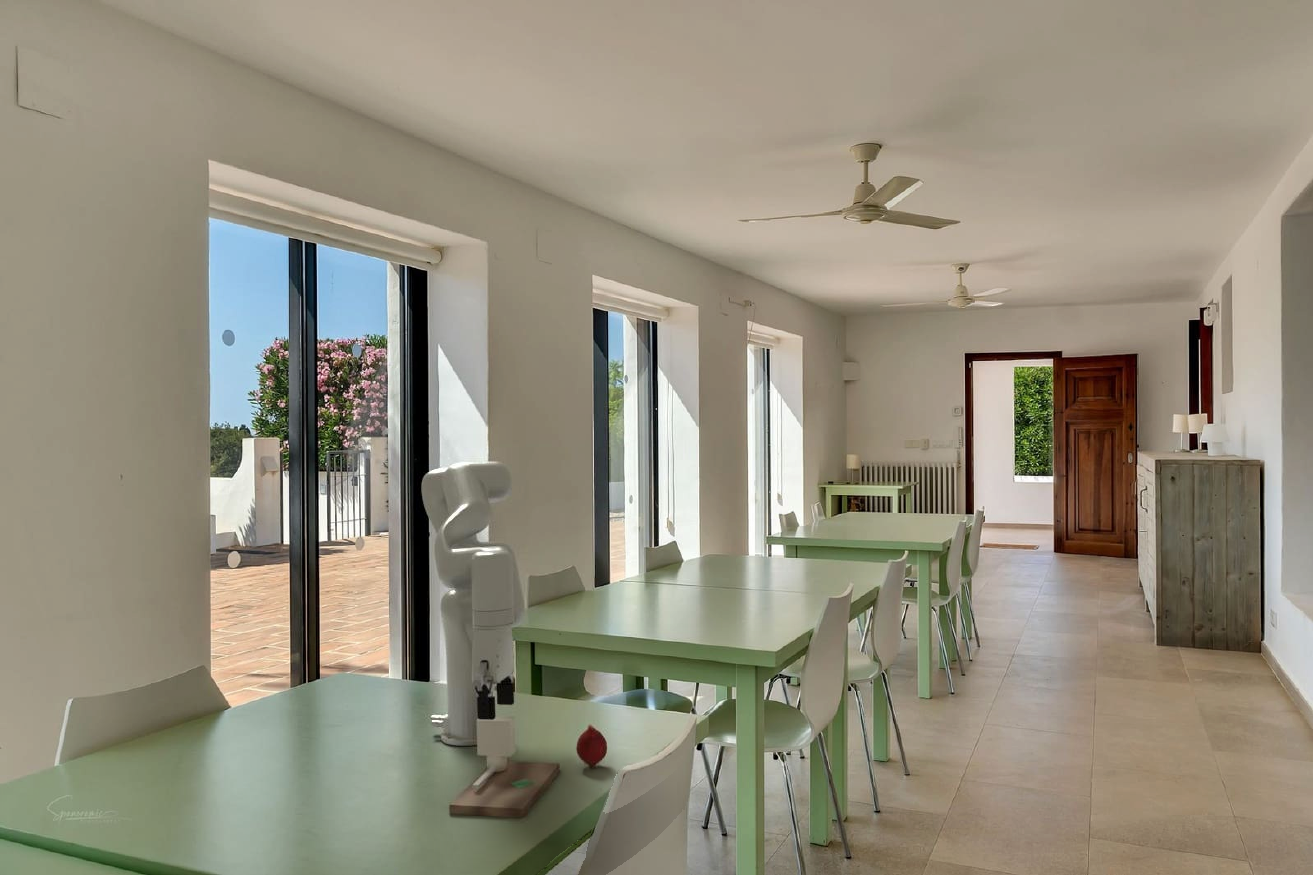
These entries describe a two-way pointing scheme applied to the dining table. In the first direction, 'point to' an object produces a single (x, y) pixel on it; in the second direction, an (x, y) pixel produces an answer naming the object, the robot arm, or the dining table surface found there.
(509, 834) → the dining table surface
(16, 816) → the dining table surface
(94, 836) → the dining table surface
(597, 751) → the onion
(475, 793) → the board
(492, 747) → the tuning peg
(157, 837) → the dining table surface
